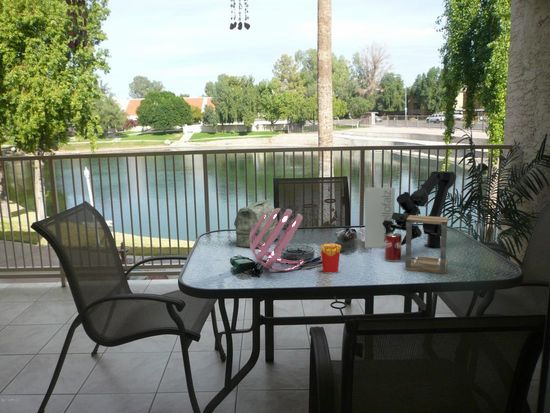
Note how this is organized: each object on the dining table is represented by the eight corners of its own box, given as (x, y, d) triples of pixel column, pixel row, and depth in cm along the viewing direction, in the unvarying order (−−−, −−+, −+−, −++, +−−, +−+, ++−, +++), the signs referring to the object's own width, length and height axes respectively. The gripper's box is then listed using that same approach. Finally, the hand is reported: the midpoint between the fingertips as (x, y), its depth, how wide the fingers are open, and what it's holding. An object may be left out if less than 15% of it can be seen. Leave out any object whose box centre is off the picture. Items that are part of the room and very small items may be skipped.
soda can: (401, 257, 212) (401, 232, 209) (401, 262, 205) (401, 236, 203) (385, 256, 214) (385, 232, 211) (384, 261, 207) (385, 236, 204)
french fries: (321, 272, 194) (321, 245, 192) (321, 269, 198) (320, 243, 196) (341, 272, 193) (341, 245, 191) (340, 269, 197) (340, 243, 195)
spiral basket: (328, 220, 206) (278, 187, 206) (317, 250, 181) (260, 213, 181) (298, 261, 220) (251, 230, 220) (283, 294, 195) (230, 260, 195)
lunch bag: (254, 235, 262) (253, 198, 258) (283, 238, 254) (281, 199, 250) (231, 246, 239) (229, 206, 235) (261, 250, 231) (260, 208, 227)
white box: (364, 247, 230) (365, 189, 225) (365, 244, 236) (365, 187, 230) (393, 248, 227) (394, 189, 222) (393, 245, 232) (394, 187, 227)
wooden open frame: (410, 259, 209) (411, 212, 205) (447, 262, 202) (449, 214, 198) (405, 269, 194) (406, 219, 190) (444, 273, 188) (447, 221, 184)
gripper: (385, 203, 215) (369, 229, 210) (418, 208, 201) (402, 236, 196) (395, 217, 221) (380, 243, 217) (428, 223, 207) (413, 250, 202)
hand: (393, 243), depth 208 cm, fingers open, 9 cm apart
